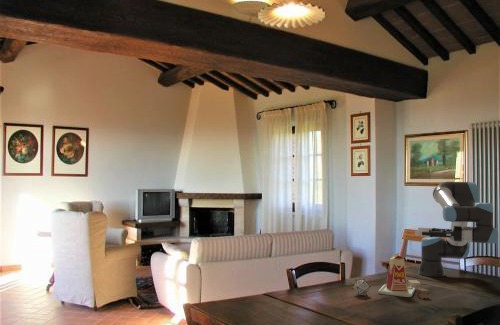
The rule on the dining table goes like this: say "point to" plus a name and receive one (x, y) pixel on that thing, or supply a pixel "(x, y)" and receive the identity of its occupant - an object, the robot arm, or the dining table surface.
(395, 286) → the milk carton
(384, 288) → the tray
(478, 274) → the dining table surface
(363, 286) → the game die
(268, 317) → the dining table surface
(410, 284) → the maple brick
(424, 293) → the walnut brick
